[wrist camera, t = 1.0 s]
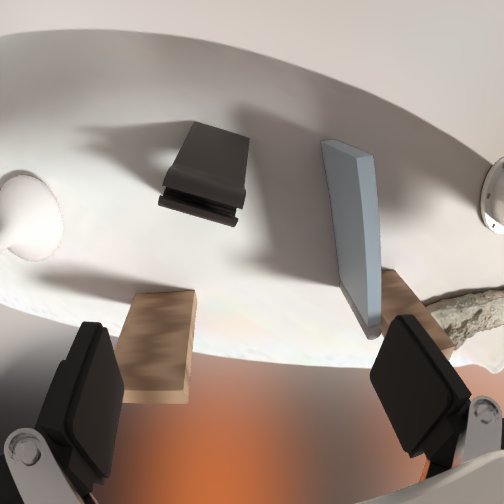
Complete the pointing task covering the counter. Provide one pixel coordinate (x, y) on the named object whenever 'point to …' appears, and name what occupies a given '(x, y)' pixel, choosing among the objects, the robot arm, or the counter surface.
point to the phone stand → (208, 175)
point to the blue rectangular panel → (356, 230)
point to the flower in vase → (29, 219)
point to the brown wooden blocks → (182, 333)
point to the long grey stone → (469, 314)
